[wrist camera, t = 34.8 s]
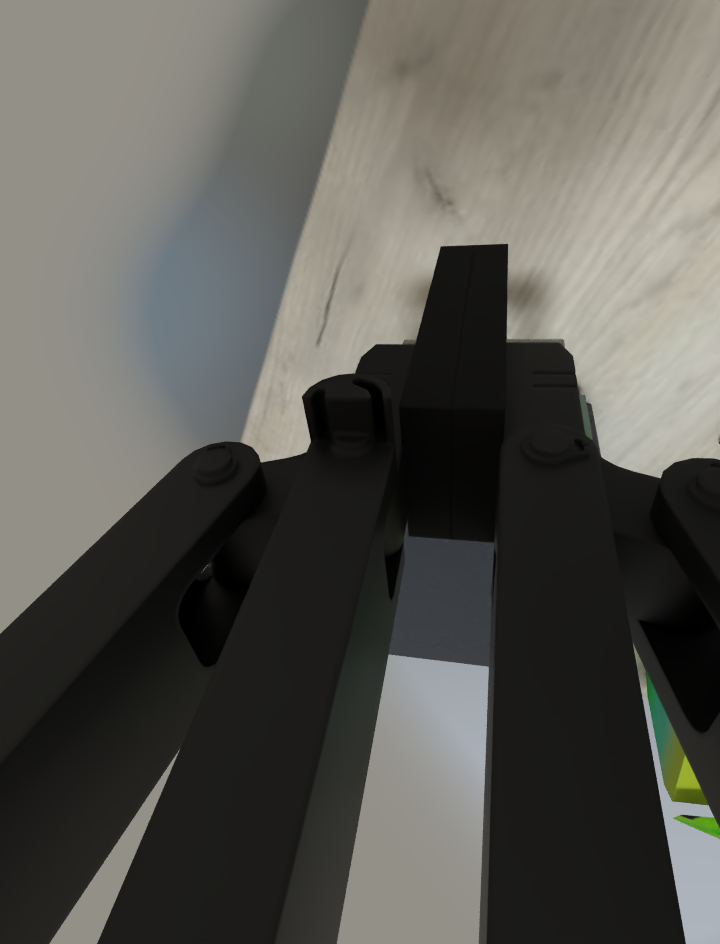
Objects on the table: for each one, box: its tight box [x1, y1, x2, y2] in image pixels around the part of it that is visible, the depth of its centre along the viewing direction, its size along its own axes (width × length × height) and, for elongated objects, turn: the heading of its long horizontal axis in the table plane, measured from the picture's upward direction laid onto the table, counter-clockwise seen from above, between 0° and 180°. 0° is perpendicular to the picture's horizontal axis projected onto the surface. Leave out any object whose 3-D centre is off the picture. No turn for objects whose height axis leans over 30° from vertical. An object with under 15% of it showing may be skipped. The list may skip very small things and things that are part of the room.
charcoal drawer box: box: [388, 404, 601, 666], centre depth 36 cm, size 15×13×9 cm
